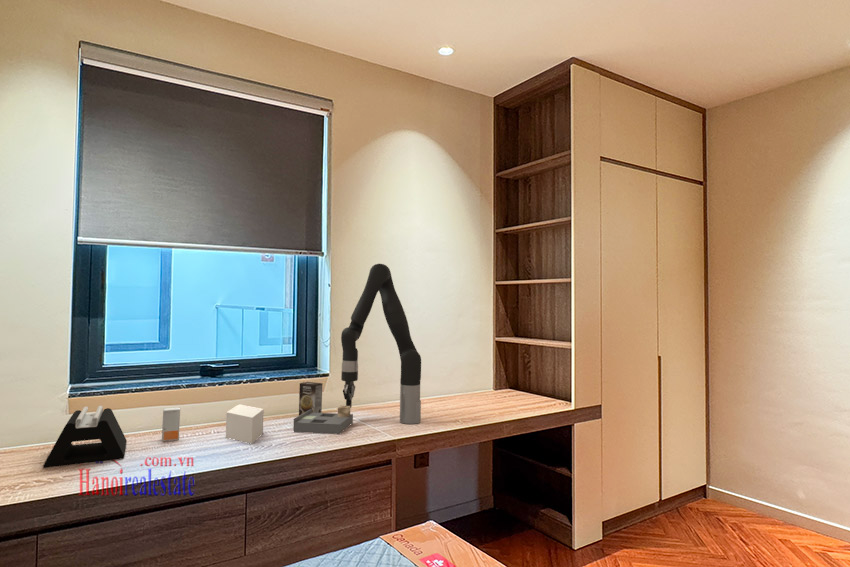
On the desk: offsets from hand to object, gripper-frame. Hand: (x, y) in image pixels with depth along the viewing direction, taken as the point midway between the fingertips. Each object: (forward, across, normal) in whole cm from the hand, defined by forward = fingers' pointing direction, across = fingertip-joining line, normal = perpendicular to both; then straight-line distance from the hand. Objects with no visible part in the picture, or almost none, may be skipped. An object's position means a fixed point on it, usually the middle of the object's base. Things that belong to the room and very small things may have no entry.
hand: (348, 407), depth 235 cm
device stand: (+7, -66, +75) cm, 100 cm away
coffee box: (+6, +4, +20) cm, 21 cm away
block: (+2, -8, 0) cm, 8 cm away
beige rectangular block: (+7, -33, +34) cm, 48 cm away
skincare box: (+7, -44, +59) cm, 74 cm away
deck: (+6, -14, +7) cm, 17 cm away
